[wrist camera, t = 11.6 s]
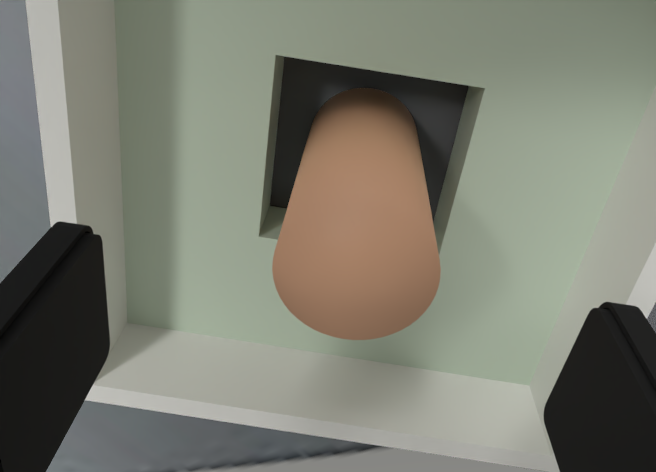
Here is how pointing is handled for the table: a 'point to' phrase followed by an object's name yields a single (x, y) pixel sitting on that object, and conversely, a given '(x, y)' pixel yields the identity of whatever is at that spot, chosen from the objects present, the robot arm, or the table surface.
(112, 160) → the holed box
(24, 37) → the table surface
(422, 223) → the peg
